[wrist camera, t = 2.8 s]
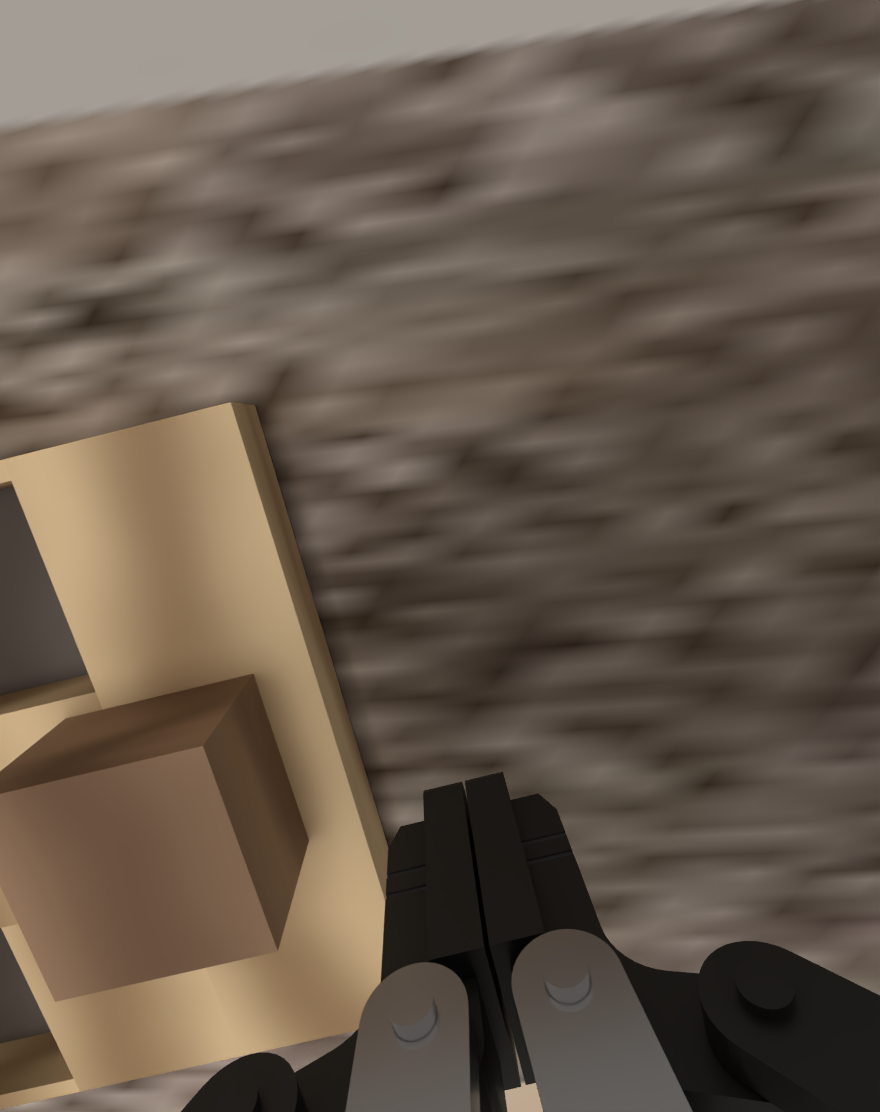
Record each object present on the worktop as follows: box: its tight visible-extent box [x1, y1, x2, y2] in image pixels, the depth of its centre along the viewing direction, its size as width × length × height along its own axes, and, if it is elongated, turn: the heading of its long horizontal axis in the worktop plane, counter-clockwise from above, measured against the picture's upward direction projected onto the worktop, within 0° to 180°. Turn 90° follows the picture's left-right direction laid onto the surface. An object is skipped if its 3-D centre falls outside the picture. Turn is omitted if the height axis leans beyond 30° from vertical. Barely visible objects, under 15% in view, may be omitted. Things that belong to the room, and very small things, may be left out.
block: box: [0, 674, 309, 1002], centre depth 14 cm, size 5×5×4 cm
